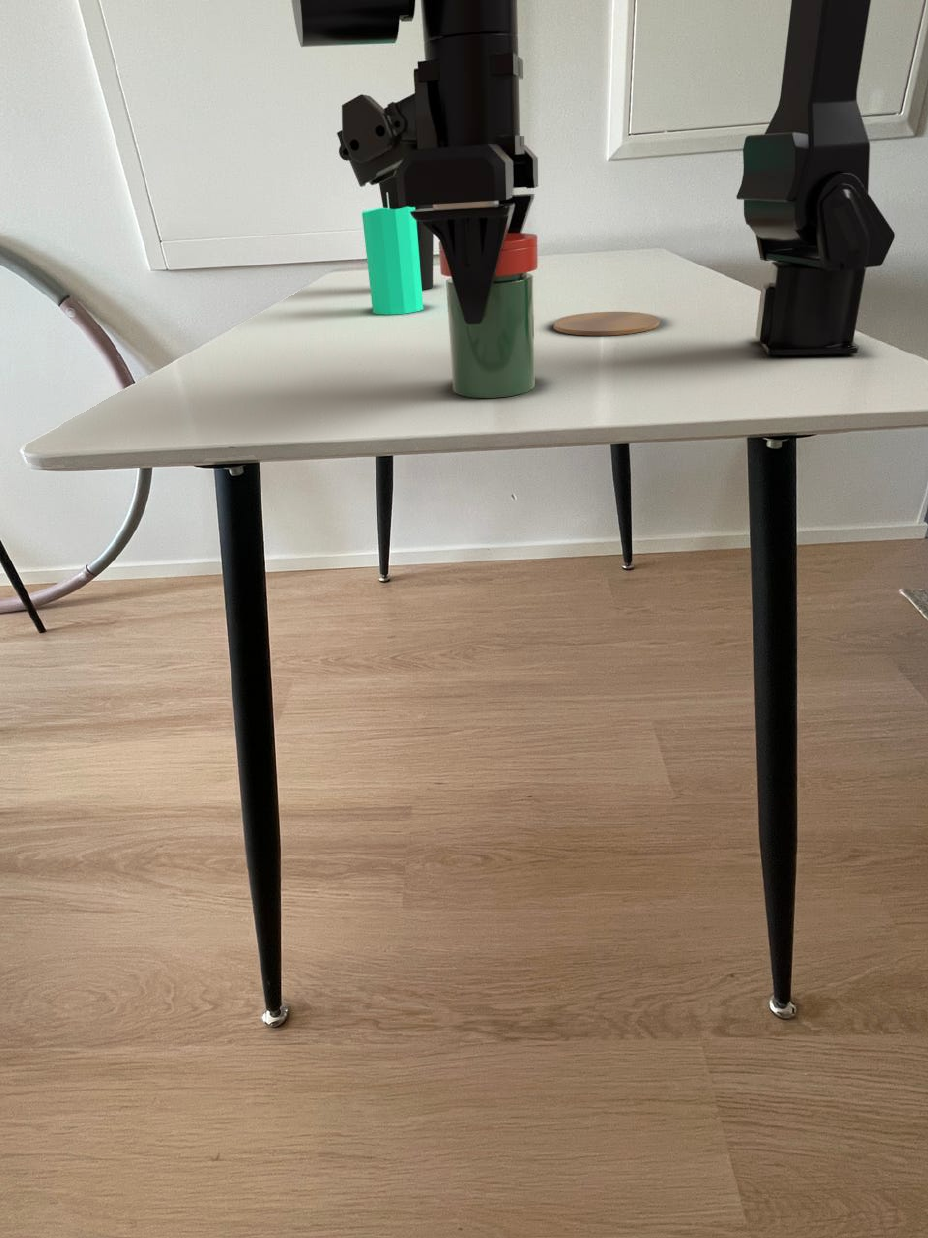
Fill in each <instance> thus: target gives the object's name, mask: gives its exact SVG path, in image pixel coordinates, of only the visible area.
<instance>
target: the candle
mask: <svg viewBox="0 0 928 1238" xmlns="http://www.w3.org/2000/svg"><path fill="white" fill-rule="evenodd" d="M386 194H387V204H388V208H383V206H382V207H377V208H372V209H367V210H362V211H361V216H362V217H361V218H362V224H363V225H362V226H363V227H362V228H363V235H364V236H363V237H364V243H365V245H364V246H365V253H366V261H367V270H368V279H369V289H370V297H371V298H370V299H371V308H372V313H373V314H376V315H389V316H390V315H403V314H411V313H417V312H419V311H422V310H424V298H423V297H424V296H423V290H422V285H421V273H420V260H419V248H418V236H417V224H416V220H415V219H414V218H413V217H412V216H411V214H410V211H414V210H415V207H403V208H399V209H389V201H388V192H387V193H386Z"/></svg>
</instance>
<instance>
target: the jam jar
mask: <svg viewBox="0 0 928 1238" xmlns="http://www.w3.org/2000/svg"><path fill="white" fill-rule="evenodd" d="M445 287H446V303H447V316H448V317H447V318H448V332H449V347H450V348H449V349H450V362H451V363H450V364H451V378H452V391H453V393H455V394H456V395H459V396H461V397H462V396H463V397H467V398H474V399H496V398H497V399H499V398H507V397H513V396H519V395H522V394H524V393H528V392H530V391H531V390H533V389H534V388H535V384H536V380H535V379H536V377H535V318H534V317H535V314H534V309H535V307H534V275H533V274H532V273H529V272H525V273H520V274H513V275H505V276H495V279H494V283H493V286H492V290H491V293H490V297H489V301H488V304H487V307H486V311H485V314H484V318H483V321H482V322H481V323H480V324H467V323H465V320H464V317H463V314H462V310H461V307H460V304H459V300H458V297H457V294H456V290H455V287H454V283H453V280H452V277H450V278H448V279H446V281H445Z"/></svg>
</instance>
